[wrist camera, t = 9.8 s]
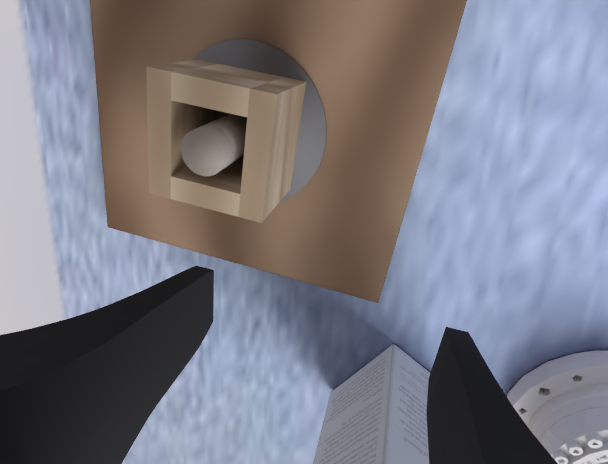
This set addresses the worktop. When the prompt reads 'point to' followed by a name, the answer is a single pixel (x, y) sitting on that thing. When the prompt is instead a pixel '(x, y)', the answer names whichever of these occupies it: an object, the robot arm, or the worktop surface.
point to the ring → (203, 109)
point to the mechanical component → (567, 406)
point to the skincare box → (378, 414)
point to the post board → (312, 132)
